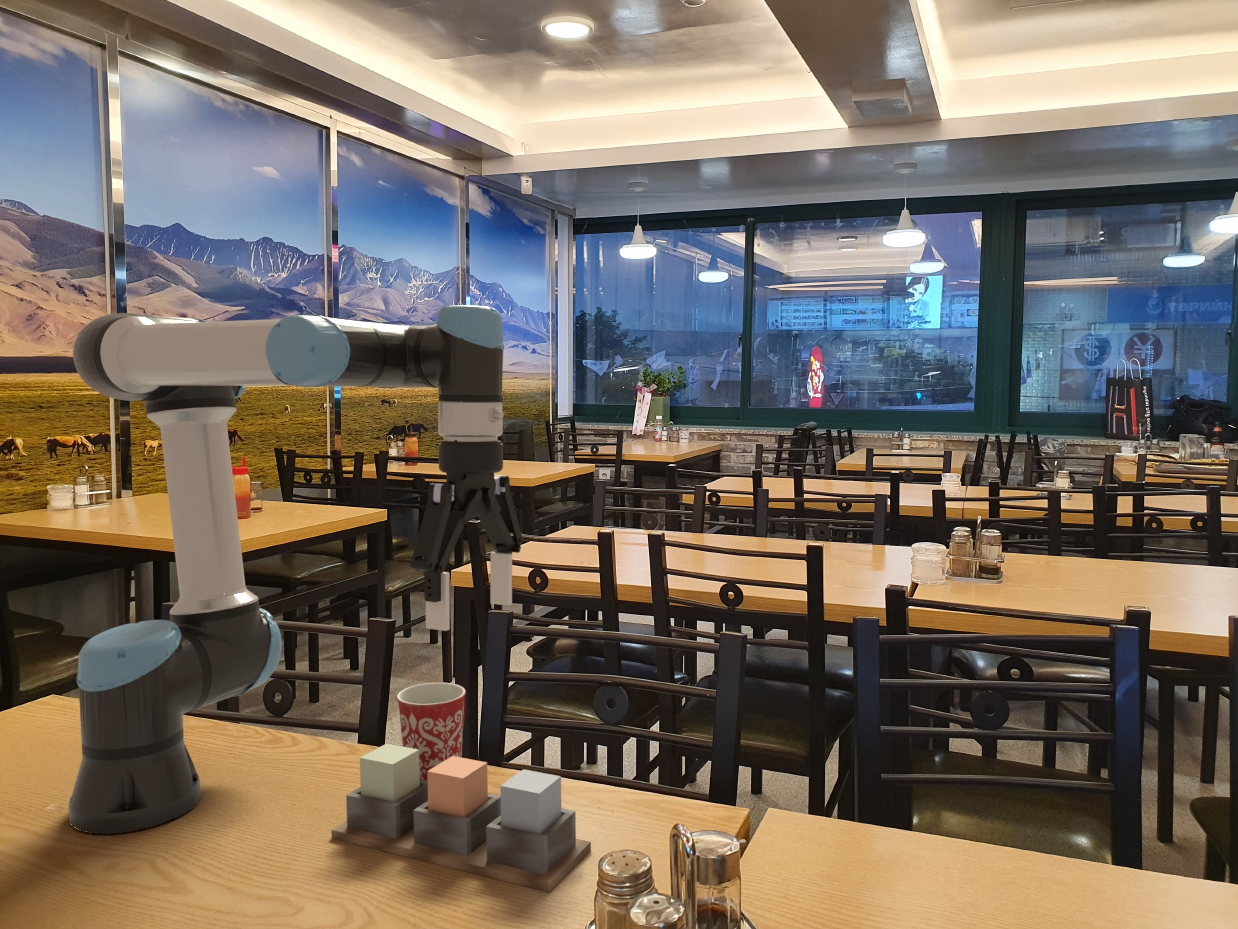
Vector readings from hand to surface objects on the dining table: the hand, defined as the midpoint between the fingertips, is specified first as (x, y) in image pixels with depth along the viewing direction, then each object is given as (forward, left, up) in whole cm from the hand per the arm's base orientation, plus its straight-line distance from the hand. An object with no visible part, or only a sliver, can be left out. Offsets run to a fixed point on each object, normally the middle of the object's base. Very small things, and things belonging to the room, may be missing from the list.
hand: (471, 616), depth 109 cm
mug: (-12, +10, -27) cm, 31 cm away
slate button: (+10, -3, -23) cm, 26 cm away
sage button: (-10, -3, -23) cm, 26 cm away
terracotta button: (0, -3, -23) cm, 24 cm away
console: (0, -3, -27) cm, 27 cm away
